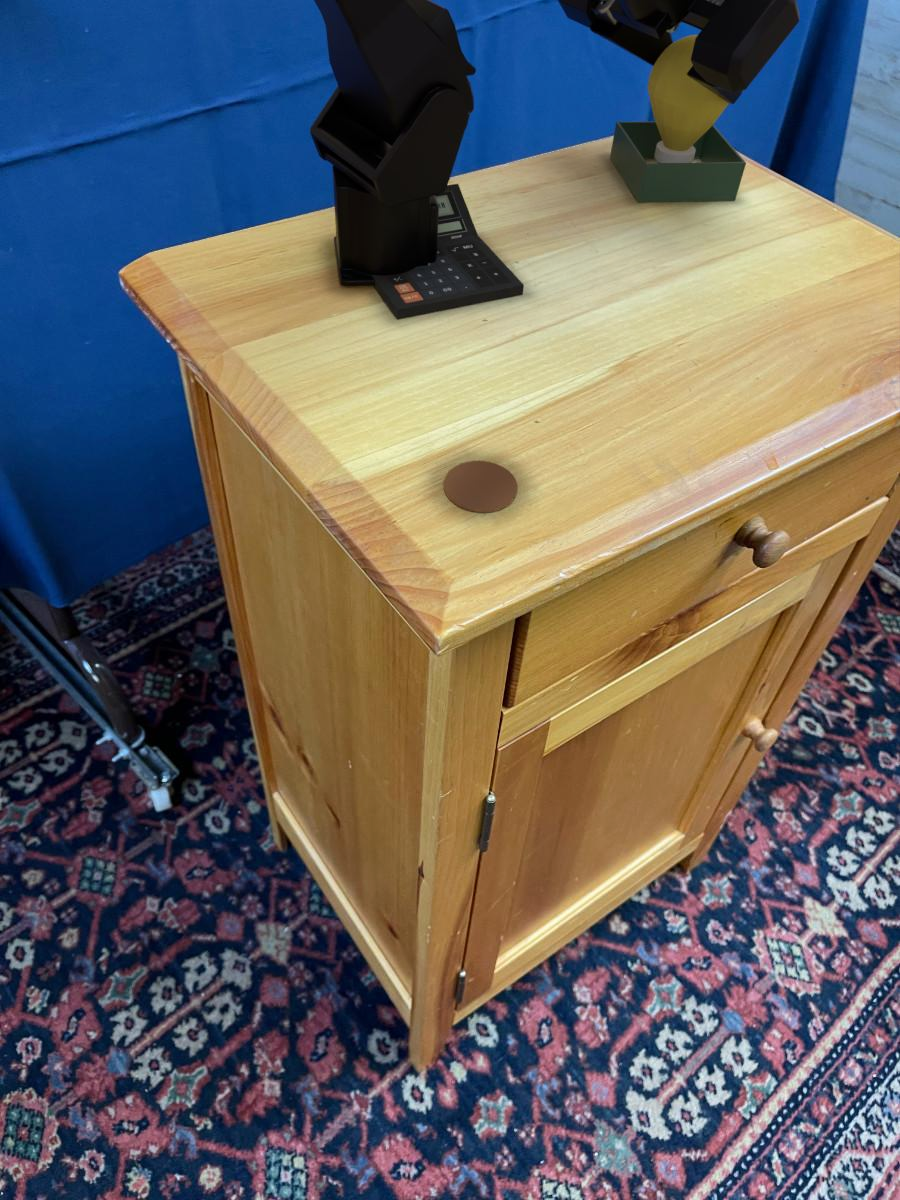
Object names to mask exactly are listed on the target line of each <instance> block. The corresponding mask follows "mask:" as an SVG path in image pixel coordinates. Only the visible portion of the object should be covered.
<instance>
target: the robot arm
mask: <svg viewBox="0 0 900 1200" xmlns="http://www.w3.org/2000/svg"><path fill="white" fill-rule="evenodd" d="M313 2H314V3H315V6H316V7H317V8H318V10H319V13H320V14H321V16H322V19H323V22H324V25H325V32H326V42H327V53H328V60H329V61H328V62H329V65H330V67H331V70H332V73H333V75H334V78H335V81H336V83H337V87H336V88H335V90H334V91H333V93H332V94H331V95H330V97H329V99H328V100H327V102H326V103H325V105H324V106H323V108H322V110H321V111H320V112H319V113H318V115H317V117H316V118H315V120H314V121H313V123H312V125H311V126H310V128H309V133H310V136H311V138H312V141H313V143H314V147H315V149H316V151H317V154H318V157H319V158H321V159H322V160H323V161H325V162H326V161H327V163H330V164H331V165H332V183H333V184H332V185H333V200H334V201H333V202H334V203H333V204H334V221H335V236H334V237H333V246H334V247H333V248H334V253H335V260H336V261H335V262H336V269H337V276H338V284H339V285H340V286H342V287H344V288H345V287H347V288H349V287H373V286H375V280H374V278H373V277H372V275H385V276H387V275H396V274H401V273H405V272H408V271H410V270H412V269H414V268H415V267H417V266H426V265H428V264H429V263H434V262H435V261H436V260H437V241H438V215H439V205H438V202H437V199H436V196H435V195H437V194H441V193H444V192H445V191H446V188H447V185H449V182H450V178H451V175H452V173H453V169H454V166H455V163H456V160H457V156H458V154H459V150H460V147H461V145H462V142H463V141H462V140H463V139H464V134H465V131H466V129H467V127H468V125H469V120H470V115H471V114H472V113H473V111H474V109H475V99H474V98H475V96H474V93H473V89H472V84H471V82H470V80H469V78H468V77H469V76H473V75H475V74H476V71H477V70H476V69H477V68H476V67H474V65H473V64H472V63H470V62H469V61H468V59H467V58H466V56H465V55H464V53H463V51H462V47H461V44H460V40H459V37H458V33H457V28H456V24H455V22H454V19H453V18H452V16H451V15H452V14H450V11H449V10H448V9H447V8H445V7H444V6H442V5H440V4H437V3H436V2H434V1H432V0H313ZM557 2H558V3H559V5H560V7H561V9H562V10H563V13H564V14H565V16H566V17H567V19H569V20H571V21H574V22H576V23H578V24H579V25H582V26H584V27H586V28H589V30H590V31H591V32H592V33H593V34H595V35H597V36H598V37H601V38H603V39H604V40H606V41H608V42H610V43H612V44H614V45H615V46H617V47H619V48H620V49H622V50H624V51H626V52H628V53H629V54H630V55H633V56H634V57H636V58H638V59H640V60H641V61H643V62H645V63H647V64H649V65H650V66H651V67H653V66H654V64H655V62H656V61H657V59H658V58H659V56H660V55H661V54H662V53H663V51H664V50H665V49H666V48H667V47H668V46H669V45H671V44H672V43H674V40H673V38H672V35H671V34H674V33H675V32H676V31H677V29H678V28H679V27H680V25H681V23H683V24H685V25H688V26H690V27H693V28H695V29H698V30H700V32H699V33H698V34H697V35H698V36H697V37H696V39H695V43H694V47H693V51H692V56H691V62H692V64H693V66H692V67H691V69H690V70H689V71H688V73H687V75H688V76H689V77H690V78H692V79H693V80H695V81H696V82H698V83H699V84H701V85H703V86H704V87H705V88H707V89H708V90H710V91H711V92H713V93H714V94H716V95H717V96H719V97H720V98H722V99H723V100H725V101H727V102H728V103H729V104H730V105H734V104H735V103H737V101H738V99H739V98H740V97H741V96H742V94H743V91H746V90H747V88H748V87H749V86H750V85H751V83H752V82H753V81H754V80H755V79H756V77H757V76H758V75H759V74H760V72H761V71H762V70H763V69H764V67H765V66H766V64H767V63H768V62H769V61H770V60H771V58H772V57H773V55H774V54H775V53H776V52H777V51H778V49H779V48H780V47H781V45H783V43H784V42H785V40H786V39H787V38H788V37H789V36H790V34H791V33H792V32H793V30H794V29H795V28H796V27H797V25H798V24H799V23H800V9H799V6H798V2H797V0H557Z"/></svg>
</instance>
